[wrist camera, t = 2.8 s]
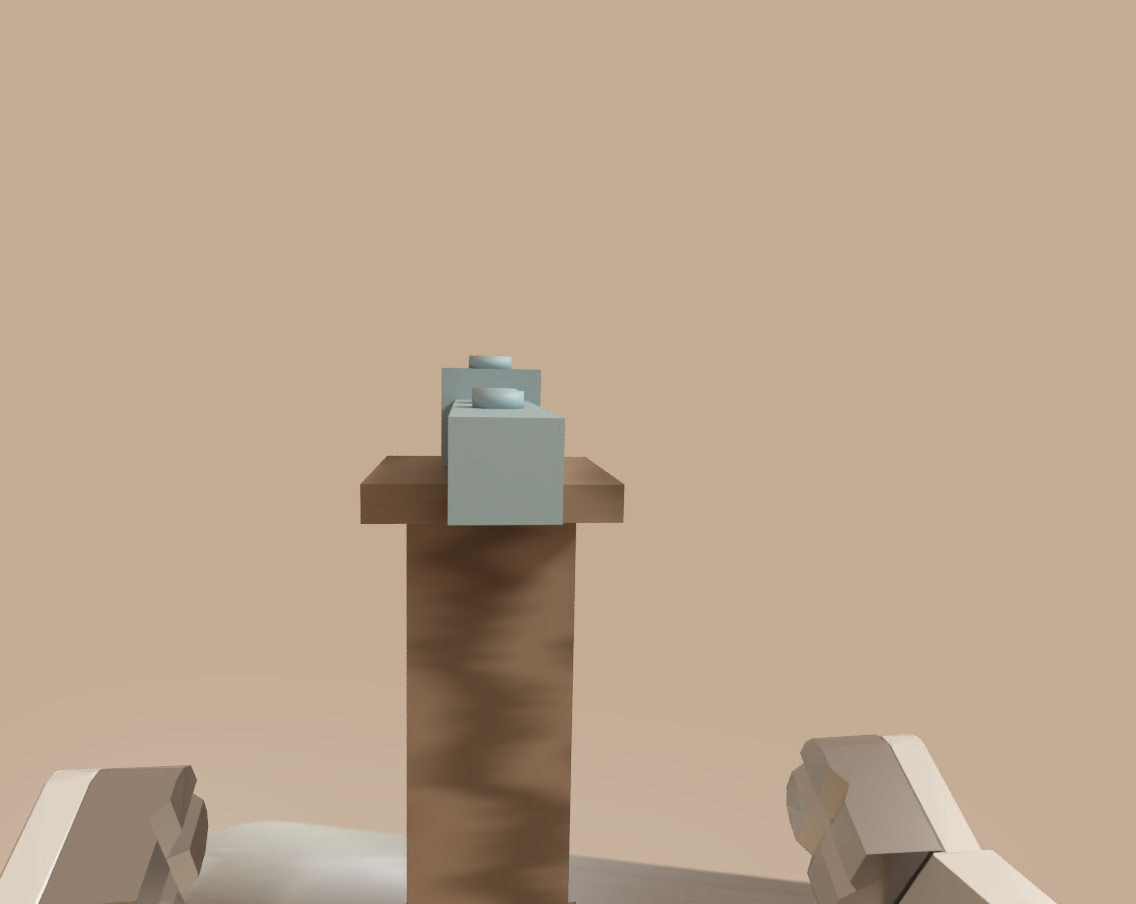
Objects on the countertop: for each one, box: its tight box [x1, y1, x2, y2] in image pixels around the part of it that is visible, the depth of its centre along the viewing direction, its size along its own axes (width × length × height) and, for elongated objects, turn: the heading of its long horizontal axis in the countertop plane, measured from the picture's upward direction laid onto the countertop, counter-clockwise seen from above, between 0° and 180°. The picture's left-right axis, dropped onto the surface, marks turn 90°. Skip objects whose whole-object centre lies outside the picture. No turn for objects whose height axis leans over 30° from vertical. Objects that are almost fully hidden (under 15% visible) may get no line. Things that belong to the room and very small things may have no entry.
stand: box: [360, 456, 624, 904], centre depth 36 cm, size 10×10×26 cm
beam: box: [441, 356, 565, 525], centre depth 30 cm, size 4×18×5 cm, turn 7°
